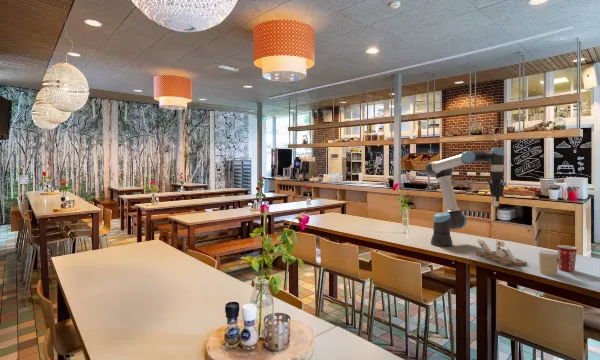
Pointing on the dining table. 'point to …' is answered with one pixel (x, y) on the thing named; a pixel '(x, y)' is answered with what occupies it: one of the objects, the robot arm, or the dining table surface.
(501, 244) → the tile
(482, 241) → the tile
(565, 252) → the mug
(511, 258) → the tile
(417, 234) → the dining table surface
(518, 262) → the tap board
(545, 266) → the coffee cup
